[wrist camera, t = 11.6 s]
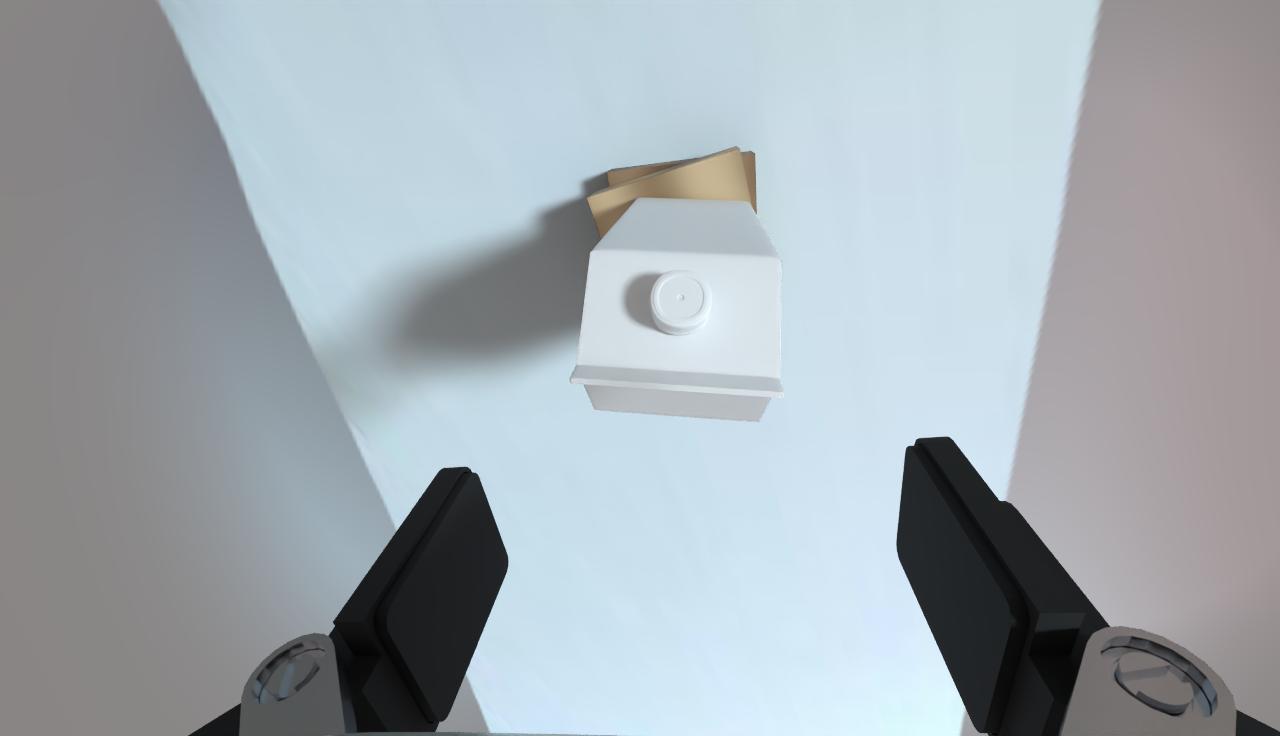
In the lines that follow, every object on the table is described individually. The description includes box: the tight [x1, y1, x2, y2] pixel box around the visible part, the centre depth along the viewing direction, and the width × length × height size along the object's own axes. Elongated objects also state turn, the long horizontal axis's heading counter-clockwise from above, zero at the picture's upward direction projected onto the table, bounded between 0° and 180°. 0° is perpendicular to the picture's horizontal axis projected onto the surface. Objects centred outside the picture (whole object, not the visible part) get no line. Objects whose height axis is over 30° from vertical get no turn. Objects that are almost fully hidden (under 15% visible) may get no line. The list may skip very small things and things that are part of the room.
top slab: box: [587, 146, 752, 239], centre depth 35 cm, size 10×10×3 cm
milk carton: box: [570, 198, 784, 422], centre depth 25 cm, size 7×7×19 cm
